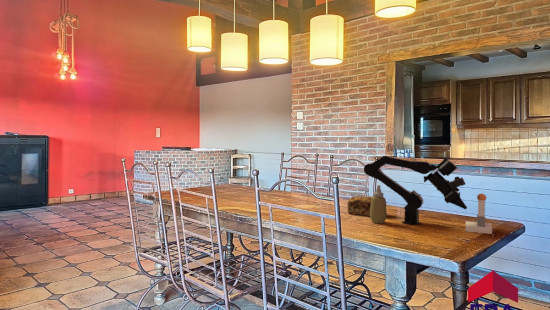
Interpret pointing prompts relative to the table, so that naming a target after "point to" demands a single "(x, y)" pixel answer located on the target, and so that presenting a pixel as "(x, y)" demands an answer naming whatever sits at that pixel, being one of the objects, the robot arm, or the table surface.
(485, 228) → the block
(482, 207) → the lever
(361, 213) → the bread
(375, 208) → the squeeze bottle
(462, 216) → the table surface
